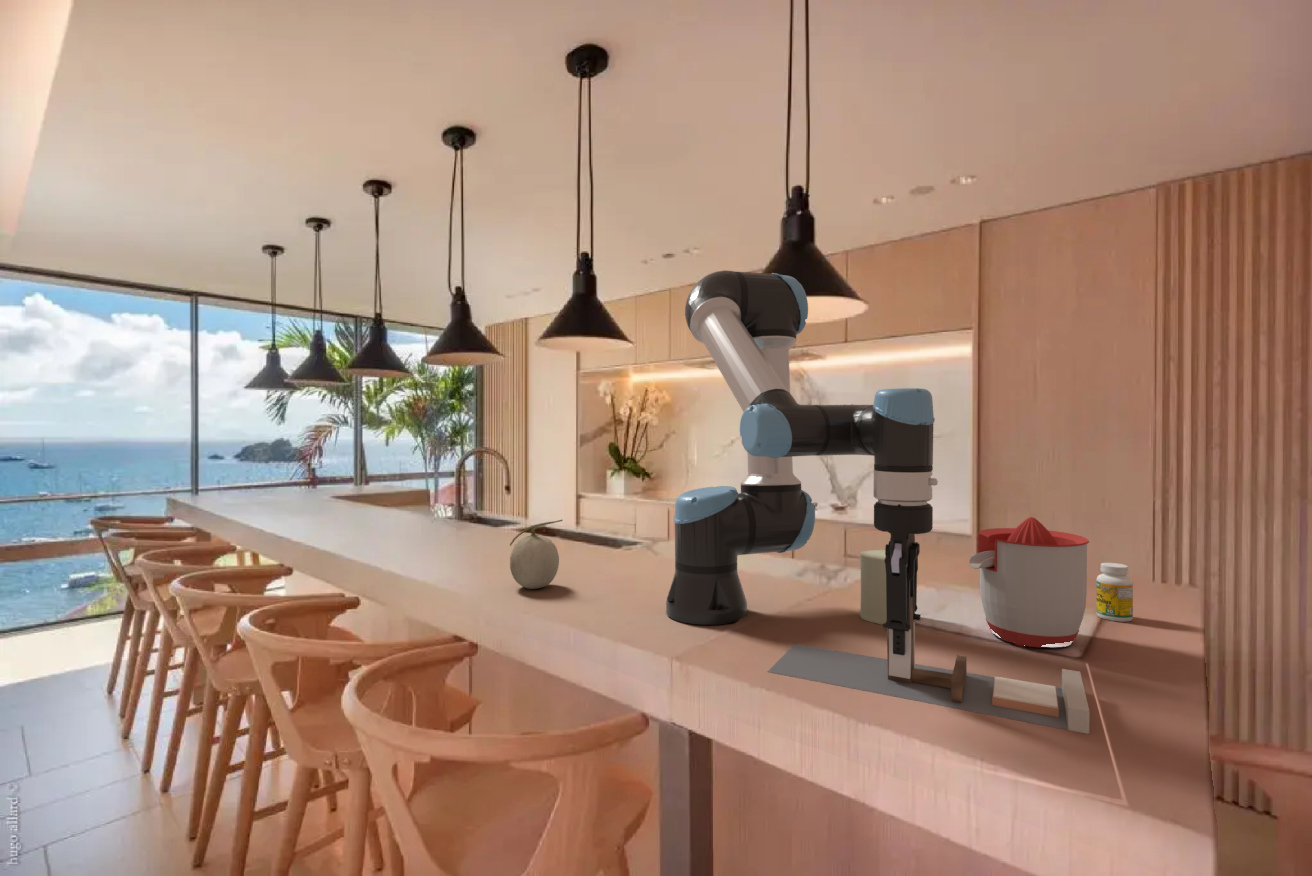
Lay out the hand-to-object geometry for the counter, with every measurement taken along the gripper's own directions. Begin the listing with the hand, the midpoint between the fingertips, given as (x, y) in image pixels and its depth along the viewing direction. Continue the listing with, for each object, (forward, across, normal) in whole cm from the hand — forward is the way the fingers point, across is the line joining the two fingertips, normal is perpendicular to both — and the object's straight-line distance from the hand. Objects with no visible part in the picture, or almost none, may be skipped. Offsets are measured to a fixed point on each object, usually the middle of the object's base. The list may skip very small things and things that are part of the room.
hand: (901, 670), depth 89 cm
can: (+2, +29, +7) cm, 30 cm away
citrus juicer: (+2, +28, -15) cm, 32 cm away
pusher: (+1, 0, -3) cm, 3 cm away
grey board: (+1, 0, -2) cm, 2 cm away
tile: (+1, 0, -15) cm, 15 cm away
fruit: (+2, +15, +78) cm, 79 cm away
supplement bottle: (+2, +48, -29) cm, 56 cm away
